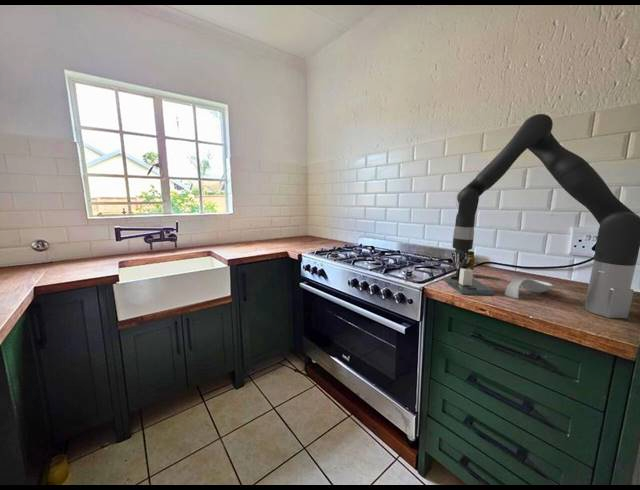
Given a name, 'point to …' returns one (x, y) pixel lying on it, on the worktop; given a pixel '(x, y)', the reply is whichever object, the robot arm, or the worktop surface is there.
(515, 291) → the spoon rest
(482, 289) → the plate
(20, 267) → the worktop surface
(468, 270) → the block
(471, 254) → the condiment
